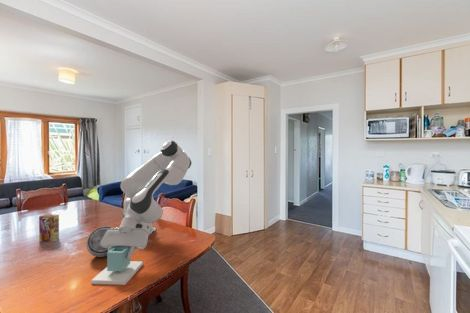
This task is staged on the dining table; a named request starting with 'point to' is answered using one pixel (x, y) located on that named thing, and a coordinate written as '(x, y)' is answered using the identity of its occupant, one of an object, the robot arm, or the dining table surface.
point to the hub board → (117, 275)
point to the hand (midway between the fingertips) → (118, 257)
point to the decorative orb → (97, 242)
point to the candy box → (48, 228)
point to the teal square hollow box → (117, 258)
